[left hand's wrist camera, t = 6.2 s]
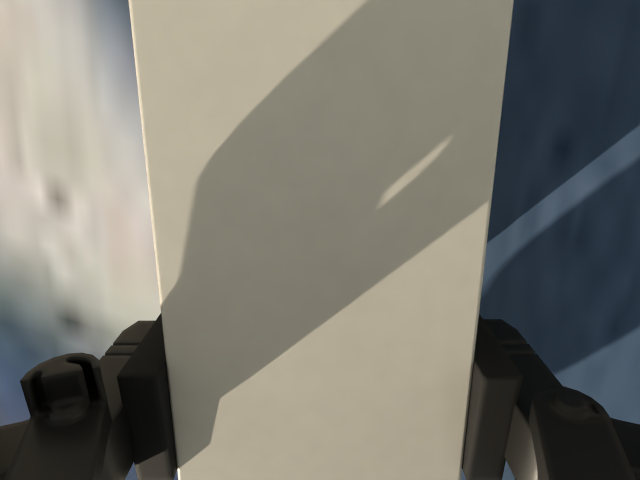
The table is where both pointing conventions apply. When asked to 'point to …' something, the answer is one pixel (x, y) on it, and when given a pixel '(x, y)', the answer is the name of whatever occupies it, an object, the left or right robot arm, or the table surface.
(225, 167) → the cabinet
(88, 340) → the table surface
